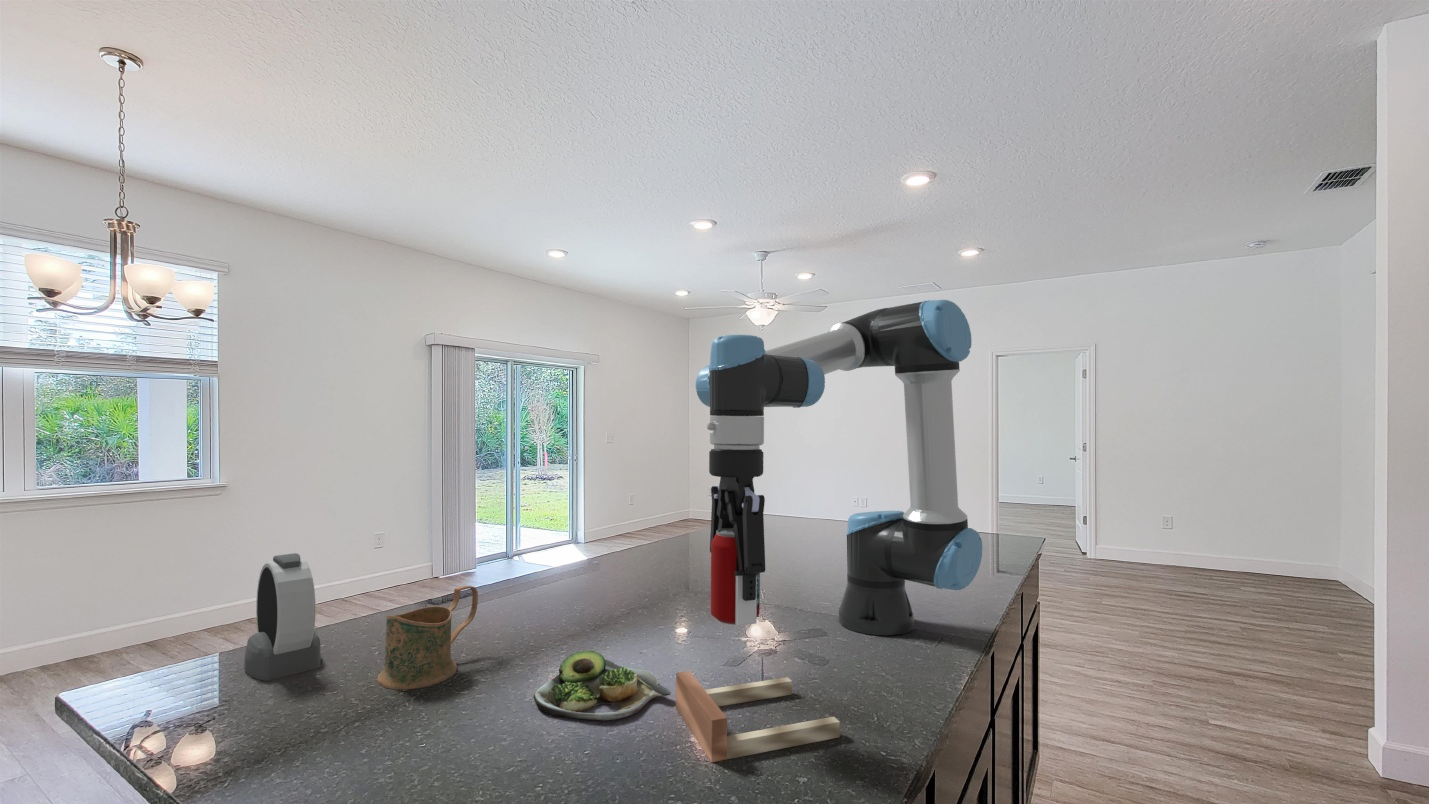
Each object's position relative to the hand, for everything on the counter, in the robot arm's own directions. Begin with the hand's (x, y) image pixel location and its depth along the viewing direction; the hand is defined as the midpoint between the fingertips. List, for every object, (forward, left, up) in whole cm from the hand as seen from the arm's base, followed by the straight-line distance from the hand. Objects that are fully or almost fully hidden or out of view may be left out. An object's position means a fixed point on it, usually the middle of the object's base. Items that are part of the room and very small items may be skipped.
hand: (735, 614), depth 84 cm
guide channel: (-3, 0, -15) cm, 15 cm away
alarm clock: (+64, -45, -15) cm, 80 cm away
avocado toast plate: (+16, -16, -16) cm, 27 cm away
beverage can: (0, 0, -1) cm, 1 cm away
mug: (+40, -35, -15) cm, 55 cm away
